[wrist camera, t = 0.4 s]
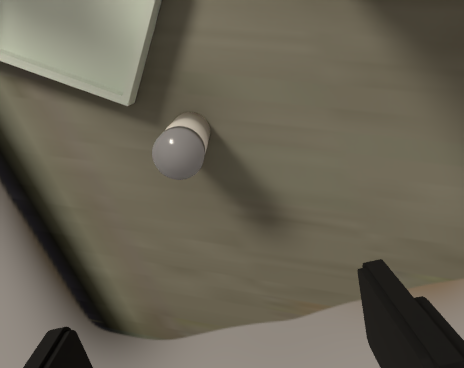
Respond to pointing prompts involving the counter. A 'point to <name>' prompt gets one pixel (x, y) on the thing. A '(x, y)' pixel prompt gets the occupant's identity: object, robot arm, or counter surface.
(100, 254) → the counter surface
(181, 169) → the shaker
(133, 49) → the tray
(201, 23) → the counter surface
